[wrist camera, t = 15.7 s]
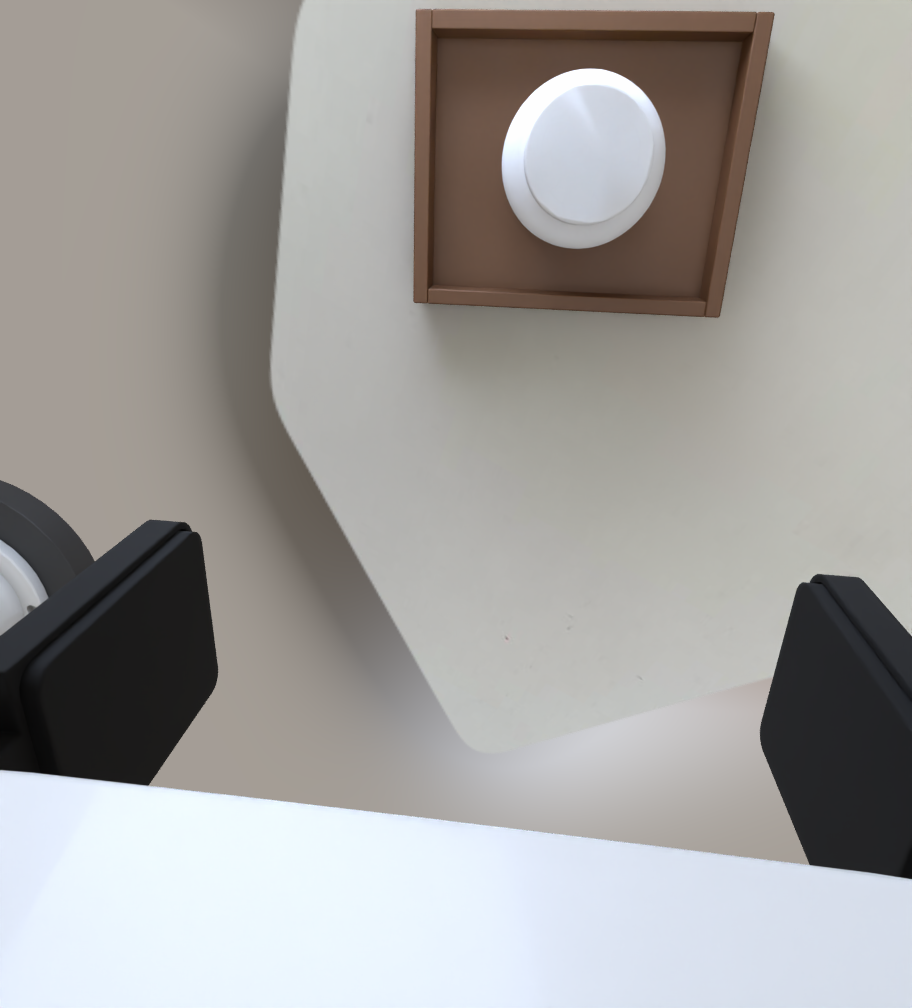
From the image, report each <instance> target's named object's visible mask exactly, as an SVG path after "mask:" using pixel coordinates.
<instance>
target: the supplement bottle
mask: <svg viewBox="0 0 912 1008" xmlns="http://www.w3.org/2000/svg"><path fill="white" fill-rule="evenodd" d="M665 152H666V148H665V137H664V132H663V128H662V124H661V121H660V118H659V116H658V113H657V111H656V109H655V107H654V106H653V104H652V102H651V101H650V100H649V98H648V97H647V96H646V95H645V93H644V92H643V91H642V90H641V89H640V88H639V87H638V86H636V85H635V84H634V83H632V82H631V81H629V80H628V79H626V78H624V77H623V76H621V75H618V74H616V73H613V72H610V71H606V70H602V69H579V70H574V71H570V72H567V73H564V74H561V75H559V76H557V77H555V78H553V79H551V80H549V81H548V82H546V83H544V84H543V85H542V86H540V87H539V88H538V89H537V90H535V91H534V92H533V93H532V94H531V95H530V96H529V98H528V99H527V100H526V101H525V102H524V103H523V105H522V106H521V107H520V109H519V110H518V112H517V114H516V115H515V117H514V119H513V121H512V123H511V125H510V127H509V130H508V133H507V136H506V139H505V143H504V148H503V154H502V178H503V184H504V189H505V193H506V196H507V199H508V201H509V203H510V206H511V208H512V210H513V211H514V213H515V215H516V216H517V218H518V219H519V220H520V222H521V223H522V224H523V225H524V226H525V227H526V228H527V229H528V230H529V231H530V232H531V233H532V234H534V235H535V236H537V237H538V238H540V239H542V240H543V241H545V242H548V243H550V244H552V245H555V246H559V247H564V248H572V249H583V248H591V247H595V246H599V245H602V244H605V243H607V242H610V241H612V240H614V239H615V238H617V237H619V236H620V235H622V234H623V233H625V232H626V231H627V230H629V229H630V228H631V227H632V226H633V225H634V224H635V223H636V222H637V221H638V220H639V219H640V218H641V217H642V216H643V214H644V213H645V212H646V210H647V209H648V208H649V206H650V204H651V203H652V201H653V199H654V197H655V195H656V193H657V191H658V188H659V186H660V183H661V180H662V176H663V172H664V165H665Z"/></svg>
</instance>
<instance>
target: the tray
mask: <svg viewBox="0 0 912 1008" xmlns="http://www.w3.org/2000/svg"><path fill="white" fill-rule="evenodd" d="M773 20H774V13H773V12H758V13H756V12H714V11H601V10H488V9H433V10H431V9H416V52H415V176H414V300H413V301H414V303H429V304H450V305H470V306H490V307H511V308H531V309H552V310H572V311H592V312H613V313H633V314H653V315H674V316H694V317H704V316H705V317H715V318H718V317H719V316H720V312H721V307H722V301H723V296H724V290H725V284H726V279H727V273H728V268H729V262H730V257H731V251H732V246H733V240H734V235H735V229H736V224H737V218H738V213H739V207H740V202H741V196H742V191H743V185H744V180H745V174H746V169H747V163H748V158H749V152H750V147H751V141H752V136H753V130H754V125H755V119H756V114H757V108H758V103H759V97H760V92H761V86H762V81H763V75H764V70H765V64H766V59H767V53H768V48H769V42H770V37H771V31H772V26H773ZM579 69H602V70H606V71H610V72H613V73H616V74H618V75H621V76H623V77H624V78H626V79H628V80H629V81H631V82H632V83H634V84H635V85H636V86H638V87H639V88H640V89H641V90H642V91H643V92H644V93H645V95H646V96H647V97H648V98H649V100H650V101H651V102H652V104H653V106H654V107H655V109H656V111H657V113H658V116H659V118H660V121H661V124H662V128H663V132H664V137H665V148H666V152H665V165H664V172H663V176H662V180H661V183H660V186H659V188H658V191H657V193H656V195H655V197H654V199H653V201H652V203H651V204H650V206H649V208H648V209H647V210H646V212H645V213H644V214H643V216H642V217H641V218H640V219H639V220H638V221H637V222H636V223H635V224H634V225H633V226H632V227H631V228H630V229H629V230H627V231H626V232H625V233H623V234H622V235H620V236H619V237H617V238H615V239H614V240H612V241H610V242H607V243H605V244H602V245H599V246H595V247H591V248H583V249H572V248H564V247H559V246H555V245H552V244H550V243H548V242H545V241H543V240H542V239H540V238H538V237H537V236H535V235H534V234H532V233H531V232H530V231H529V230H528V229H527V228H526V227H525V226H524V225H523V224H522V223H521V222H520V220H519V219H518V218H517V216H516V215H515V213H514V211H513V210H512V208H511V206H510V203H509V201H508V199H507V196H506V193H505V189H504V184H503V178H502V154H503V148H504V143H505V139H506V136H507V133H508V130H509V127H510V125H511V123H512V121H513V119H514V117H515V115H516V114H517V112H518V110H519V109H520V107H521V106H522V105H523V103H524V102H525V101H526V100H527V99H528V98H529V96H530V95H531V94H532V93H533V92H534V91H535V90H537V89H538V88H539V87H540V86H542V85H543V84H544V83H546V82H548V81H549V80H551V79H553V78H555V77H557V76H559V75H561V74H564V73H567V72H570V71H574V70H579Z"/></svg>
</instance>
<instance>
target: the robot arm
mask: <svg viewBox="0 0 912 1008" xmlns="http://www.w3.org/2000/svg"><path fill="white" fill-rule="evenodd" d="M217 677H218V664H217V657H216V649H215V641H214V633H213V625H212V618H211V610H210V603H209V595H208V586H207V579H206V571H205V563H204V555H203V547H202V541H201V537H200V535H199V534H198V533H197V532H192V530H191V528H190V526H189V525H188V524H187V523H185V522H172V521H160V520H149V521H146V522H145V523H144V524H143V525H141V526H140V527H139V528H137V529H136V530H135V531H133V532H132V533H131V534H130V535H128V536H127V537H126V538H125V539H123V540H122V541H121V542H119V543H118V544H117V545H116V546H114V547H113V548H112V549H111V550H109V551H108V552H107V553H105V554H104V555H103V556H102V557H100V558H99V559H98V560H97V561H95V562H94V563H93V564H91V565H90V566H89V567H87V568H86V569H85V570H84V571H82V572H81V573H80V574H79V575H77V576H76V577H75V578H73V579H72V580H71V581H70V582H68V583H67V584H66V585H64V586H63V587H62V588H61V589H59V590H58V591H57V592H56V593H54V594H53V595H52V596H50V597H49V598H48V596H47V593H46V591H45V588H44V586H43V584H42V583H41V581H40V579H39V578H38V576H37V574H36V573H35V571H34V570H33V569H32V568H31V567H30V565H29V564H28V563H27V562H26V560H25V559H23V558H22V557H21V556H20V555H19V554H18V553H17V552H16V551H15V550H14V549H13V548H11V547H10V546H8V545H7V544H6V543H4V542H3V541H1V540H0V1008H912V636H911V635H910V634H909V633H908V632H907V630H906V629H905V628H904V627H903V626H902V625H901V624H900V622H899V621H898V620H897V619H896V618H895V617H894V616H893V614H892V613H891V612H890V611H889V610H888V609H887V608H886V606H885V605H884V604H883V603H882V602H881V601H880V599H879V598H878V597H877V596H876V595H875V594H874V593H873V591H872V590H871V589H870V588H869V587H868V586H867V585H866V583H865V582H864V581H863V580H862V579H860V578H859V577H847V576H834V575H822V574H817V575H815V576H813V578H812V579H811V581H810V583H804V582H803V583H801V584H800V585H799V586H798V588H797V591H796V594H795V598H794V601H793V605H792V609H791V613H790V616H789V620H788V624H787V628H786V631H785V635H784V639H783V643H782V646H781V650H780V654H779V658H778V662H777V665H776V669H775V673H774V677H773V680H772V684H771V688H770V692H769V695H768V699H767V703H766V707H765V710H764V715H763V718H762V722H761V727H760V740H761V746H762V749H763V752H764V755H765V757H766V759H767V762H768V764H769V767H770V769H771V771H772V774H773V777H774V779H775V781H776V784H777V786H778V789H779V791H780V794H781V796H782V798H783V801H784V803H785V806H786V808H787V810H788V813H789V815H790V818H791V820H792V823H793V825H794V828H795V830H796V832H797V835H798V837H799V840H800V842H801V845H802V847H803V849H804V852H805V854H806V857H807V859H808V862H809V864H810V865H804V864H796V863H787V862H780V861H772V860H763V859H756V858H748V857H740V856H732V855H724V854H716V853H708V852H700V851H692V850H683V849H675V848H668V847H659V846H651V845H644V844H634V843H627V842H619V841H611V840H603V839H594V838H586V837H578V836H569V835H561V834H553V833H545V832H536V831H528V830H520V829H511V828H503V827H494V826H486V825H478V824H470V823H462V822H454V821H444V820H437V819H429V818H419V817H412V816H403V815H394V814H386V813H378V812H369V811H360V810H351V809H342V808H335V807H326V806H318V805H309V804H300V803H292V802H282V801H275V800H266V799H258V798H250V797H242V796H233V795H225V794H215V793H207V792H198V791H189V790H180V789H171V788H162V787H154V786H148V785H149V784H150V783H151V781H152V780H153V778H154V777H155V775H156V774H157V772H158V771H159V769H160V768H161V766H162V765H163V763H164V762H165V761H166V759H167V758H168V756H169V755H170V753H171V752H172V750H173V749H174V747H175V746H176V744H177V743H178V742H179V740H180V739H181V737H182V736H183V734H184V733H185V731H186V730H187V729H188V727H189V726H190V724H191V722H192V721H193V720H194V718H195V717H196V715H197V714H198V712H199V711H200V710H201V708H202V707H203V705H204V704H205V702H206V701H207V699H208V698H209V696H210V695H211V694H212V692H213V690H214V688H215V685H216V682H217Z"/></svg>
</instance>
